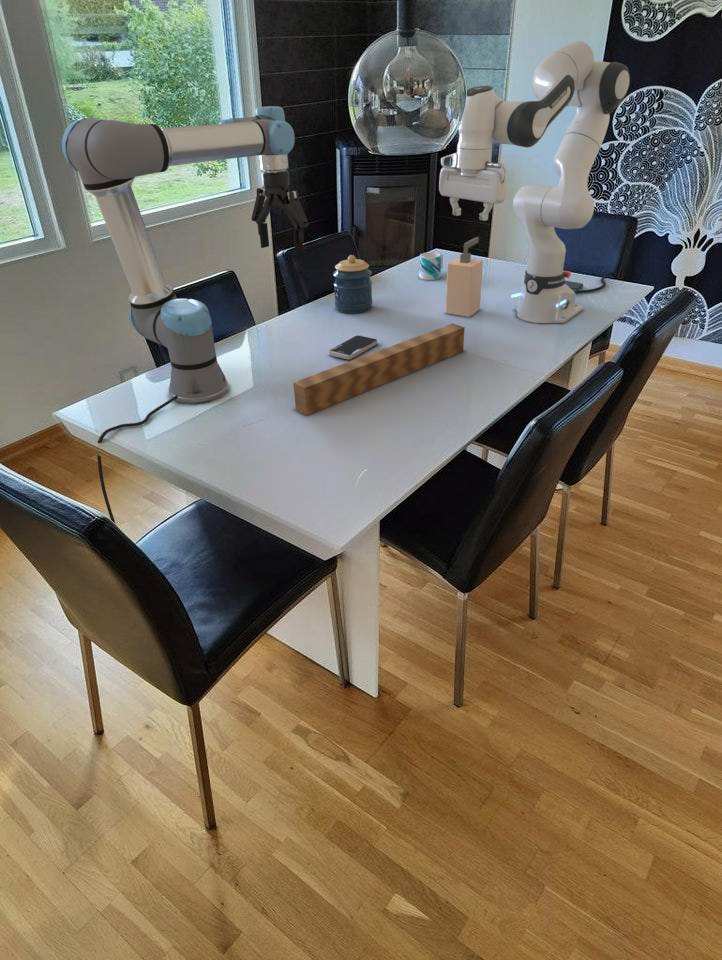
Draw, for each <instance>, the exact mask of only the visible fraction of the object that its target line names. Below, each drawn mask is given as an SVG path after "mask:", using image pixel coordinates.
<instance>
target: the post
mask: <svg viewBox="0 0 722 960" xmlns="http://www.w3.org/2000/svg"><path fill="white" fill-rule="evenodd" d="M464 344H465V327H464V326H463V325H459V324H455V323H450V324H447V325H444V326H441V327H439V328H436V329H434V330H431V331H428V332H426V333H423V334H420V335H417V336H415V337H412V338H409V339H406V340H403V341H401V342H398V343H396V344H393V345H390V346H388V347H385V348H382V349H380V350H376V351H374V352H371V353H369V354H366V355H363V356H360V357H358V358H355V359H353V360H352V359H351V360H349V361H347V362H345V363H341V364H340V365H337V366H334V367H331V368H329V369H328V368H327V369H326V370H323V371H320V372H317V373H314V374H312V375H310V376H306V377H304V378H302V379H299V380H296V381H293V383H292V385H293V394H294V395H293V396H294V405H295V410H296V411H298V412H300V413H302V414H304V415H306V416H308V415H311V414H313V413H316V412H319V411H321V410H323V409H326V408H328V407H331V406H333V405H336V404H338V403H340V402H343V401H345V400H348V399H351V398H353V397H355V396H358V395H360V394H363V393H364V392H367V391H370V390H372V389H375V388H378V387H379V386H382V385H384V384H387V383H390V382H392V381H394V380H397V379H399V378H402V377H404V376H406V375H409V374H411V373H413V372H416V371H419V370H422V369H424V368H426V367H428V366H430V365H434V364H436V363H438V362H441V361H444V360H445V359H448V358H451V357H453V356H456V355H458V354H461V353H463V352H464V348H465V347H464Z"/></svg>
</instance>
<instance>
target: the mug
mask: <svg viewBox="0 0 722 960" xmlns="http://www.w3.org/2000/svg"><path fill="white" fill-rule="evenodd" d="M443 262H444V254H441V253H439V252H434V251H429V252H428V251H427V252H423V253H420V255H419V265H418V266H419V267H418V268H419V270H418V271H419V272H418V274H419V276H418V278H419V279H421V280H426V281H436V280H438V279H440V278H441V277H442V276H441V275H442V274H441V273H442V271H441V270H442V269H443V267H444V265H443V264H444V263H443Z"/></svg>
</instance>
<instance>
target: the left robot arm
mask: <svg viewBox="0 0 722 960" xmlns="http://www.w3.org/2000/svg"><path fill="white" fill-rule="evenodd" d="M295 138H296V136H295V132H294V129H293V127H292V126H291V124H290V123H289V122H287V121H286V115H285V111H284V108H282V107H281V106H278V105H277V106H275V105H273V106H271V105H268V106H258V107H256V109H255V115H254V116H249V117H234V118H233V117H230V118H227V119H226V118H225V119H222V120H221V121H220V122H218V123H213V124H202V125H200V124H199V125H189V126H188V125H187V126H186V125H185V126H175V127H174V126H173V127H161V126H160V125H159V124H158V123H145V124H144V123H136V122H135V123H134V122H128V121H121V120H116V119H105V118H96V117H93V116H89V117H86V118H85V117H83V118H79V119H76V120H73V121H72V122H70V124H69V125H67V127H66V128H65V131H64V133H63V135H62V139H61V148H62V153H63V156H64V158H65V160H66V162H67V163H68V165H70V167H71V168H72V169H73V170H74V171H76V172H78V175H79V177H80V180H81V182H82V185H83V187H84V189H85V191H86V192H88V193H90V194H91V195H93V196H94V197H95V199H96V202H97V205H98V207H99V210H100V212H101V215H102V217H103V220H104V223H105V225H106V228H107V231H108V233H109V236H110V239H111V241H112V243H113V246H114V248H115V251H116V254H117V257H118V259H119V263H120V264H121V267H122V269H123V272H124V275H125V277H126V280H127V283H128V285H129V288H130V291H131V292H130V294H129V296H128V302H129V304H130V308H129V309H128V310H129V311H128V316H129V322H130V324H131V325H132V326H131V327H133V329H134V330H135V331H136V332H137V334H140V335H141V336H142V337H143V338H144V339H146V340H149V341H151V342H154V343H156V344H159V345H160V346H162V347H165V348H166V349H167V352H168V356H169V361H170V367H171V369H170V370H171V371H170V377H169V386H168V393H169V397H170V399H168V400H167V401H165V402H164V403H162V404H160V405H158V406H157V407H156V408H154V409H153V410H151V411H150V412H149V413H147V415H146V416H145V418H144V419H143V420H141V421H137V422H130V423H129V422H128V423H122V424H118V425H115V426H112V427H109V428H107V429H106V430H104V431H103V432H102V433H101V435H100V436H99V438H98V440H97V444H101V443H102V442H103V440H104V438H105V436H106V435H107V434H108V433H110V432H113V431H116V430H119V429H123V428H129V427H130V428H131V427H139V426H142V425H144V424H146V423H147V422H148V421H149V419H150V418H151V417H152V416H153V415H154V414H155V413H157V412H158V411H160V410H161V409H163V408H165V407H166V406H168V405H169V404H171V403H173V402H174V401H175V402H177V403H180V404H188V405H189V404H190V405H196V404H197V405H198V404H204V403H208V402H212V401H214V400H217V399H219V398H221V397H223V396H224V395H225V394H227V392H228V391H229V383H228V379H227V378H226V375H225V374H224V372H223V370H222V368H221V366H220V363H219V362H218V358H217V353H216V346H215V339H214V333H213V326H212V318H211V315H210V310H209V309H208V307H207V306H206V304H205V303H204V302H202V301H200V300H197V299H193V298H189V299H188V298H177V295H176V293H175V289H174V287H173V286H172V285H171V284H170V283H168V282H166V281H165V279H164V276H163V273H162V271H161V268H160V265H159V262H158V259H157V256H156V254H155V250H154V247H153V245H152V242H151V239H150V236H149V233H148V230H147V228H146V224H145V222H144V218H143V216H142V213H141V211H140V208H139V205H138V202H137V199H136V196H135V192H134V190H133V187H132V185H133V183H134V181H135V179H136V178H137V177H141V176H147V175H153V174H159V173H165V172H167V171H168V169H169V168H170V167H174V166H183V165H189V164H190V165H191V164H199V163H206V162H214V161H223V160H232V159H238V158H247V157H248V158H249V157H257V156H259V160H260V169H261V171H262V172H261V179H262V186H261V187H257V188H256V197H255V202H254V206H253V210H252V214H251V221H252V222H255V223H256V225H257V233H258V236H259V240H260V248H261V249H264V248H268V247H270V240H269V239H270V238H269V229H268V228H269V227H268V223H267V221H266V220H267V219H268V217H269V214H270V213H271V211H272V209H273V208H274V207H276V208H279V209H281V210H283V211H284V213H285V214H286V216H287V217H288V219H289V221H290V223H291V224H292V226H293V227H294V229H293V230H292V232H293V244H294V245H293V246H294V254H295V255H299V254H302V253H304V243H303V242H304V241H305V234H304V229H305V228H308V227H309V226H310V223H309V220H308V218H307V216H306V213H305V211H304V208H303V206H302V203H301V201H300V196H299V191H298V190H292V191H290V190H289V189H290V188H289V186H290V185H291V179H290V172H289V171H288V169H289V157H288V155H289V153H290V152H291V151H292V150H293V149H294V146H295V142H296V141H295V140H296V139H295ZM101 456H102V455H99V454H96V458H97V467H98V476H99V482H100V487H101V491H102V495H103V499H104V503H105V505H106V506H105V507H106V509H107V513H108V515H109V519H110V521H111V520H112V521H113V522H114V523H115V524H116V520H115V517H114V514H113V511H112V508H111V504H110V502H109V501H110V500H109V498H108V493H107V490H106V484H105V479H104V474H103V473H104V472H103V465H102V457H101Z"/></svg>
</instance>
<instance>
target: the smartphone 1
mask: <svg viewBox="0 0 722 960" xmlns="http://www.w3.org/2000/svg"><path fill="white" fill-rule="evenodd" d="M377 345H378V339H377V338H373V337H369V336H363V335H360V334H359V335H355V336H353V337H351V338H349V339H347V340H345V341H343V342H342V343H340V344H338V345H336V346H334V347H333V348H331V349H329V350H328V355H329V356H331V357H335V358H338V359H339V358H340V359H343V360H349V361H351V360H352V359H354V358H356V357H358V356H359V355H362V353H364V352H366V351H368V350H369V349H372V348H373V347H375V346H377Z"/></svg>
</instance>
